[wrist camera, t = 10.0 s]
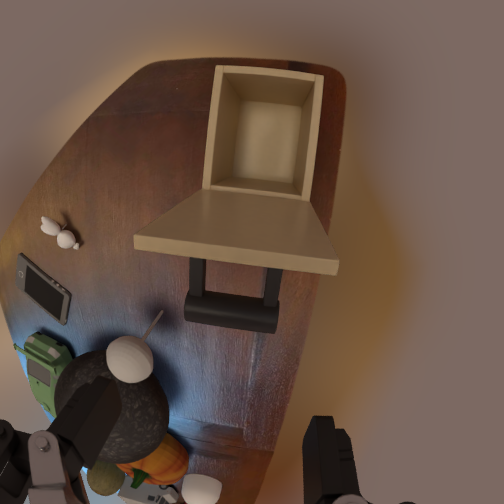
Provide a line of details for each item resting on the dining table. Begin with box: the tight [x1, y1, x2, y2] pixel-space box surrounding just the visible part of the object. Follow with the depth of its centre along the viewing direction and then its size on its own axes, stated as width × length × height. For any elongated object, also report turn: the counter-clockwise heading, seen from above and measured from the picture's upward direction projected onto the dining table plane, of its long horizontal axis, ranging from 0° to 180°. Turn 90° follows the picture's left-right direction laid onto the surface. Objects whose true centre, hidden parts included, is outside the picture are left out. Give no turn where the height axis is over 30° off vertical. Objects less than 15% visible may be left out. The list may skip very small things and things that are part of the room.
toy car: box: [14, 332, 73, 418], centre depth 47 cm, size 12×30×10 cm, turn 167°
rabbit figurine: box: [41, 216, 79, 249], centre depth 37 cm, size 6×4×8 cm
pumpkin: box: [116, 433, 189, 489], centre depth 47 cm, size 19×19×15 cm
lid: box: [134, 189, 340, 334], centre depth 18 cm, size 12×9×5 cm
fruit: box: [87, 460, 125, 496], centre depth 55 cm, size 11×11×15 cm
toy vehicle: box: [118, 475, 179, 504], centre depth 61 cm, size 9×18×10 cm, turn 96°
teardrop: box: [182, 474, 222, 504], centre depth 55 cm, size 11×11×12 cm
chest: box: [202, 65, 324, 202], centre depth 27 cm, size 11×9×13 cm
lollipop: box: [106, 310, 163, 383], centre depth 35 cm, size 6×6×15 cm
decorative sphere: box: [54, 350, 169, 464], centre depth 38 cm, size 20×20×20 cm
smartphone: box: [15, 253, 71, 326], centre depth 43 cm, size 15×8×1 cm, turn 60°
